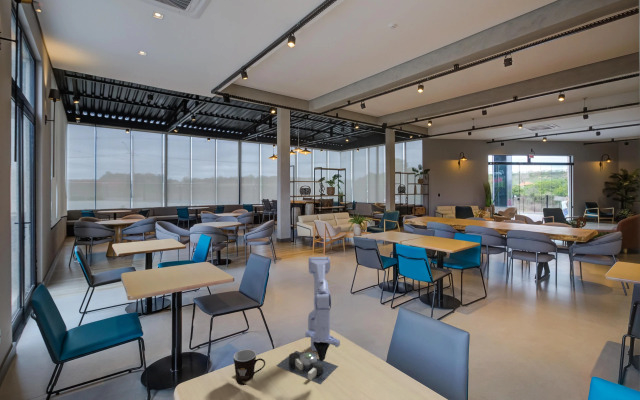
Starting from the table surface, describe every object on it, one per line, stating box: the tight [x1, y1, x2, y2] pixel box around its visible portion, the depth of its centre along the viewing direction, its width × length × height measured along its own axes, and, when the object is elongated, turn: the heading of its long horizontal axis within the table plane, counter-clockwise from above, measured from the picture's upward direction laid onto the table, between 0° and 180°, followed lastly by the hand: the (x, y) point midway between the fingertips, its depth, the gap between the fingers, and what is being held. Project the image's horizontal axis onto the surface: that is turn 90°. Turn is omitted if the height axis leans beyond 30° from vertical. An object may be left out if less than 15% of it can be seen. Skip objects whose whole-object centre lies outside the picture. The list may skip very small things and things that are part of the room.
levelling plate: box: [275, 350, 339, 385], centre depth 127 cm, size 14×22×6 cm, turn 58°
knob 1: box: [289, 352, 303, 370], centre depth 127 cm, size 8×4×3 cm, turn 35°
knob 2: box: [307, 362, 323, 381], centre depth 121 cm, size 8×4×3 cm, turn 148°
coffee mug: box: [233, 348, 266, 386], centre depth 118 cm, size 12×9×10 cm
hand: (322, 359), depth 117 cm, fingers closed
